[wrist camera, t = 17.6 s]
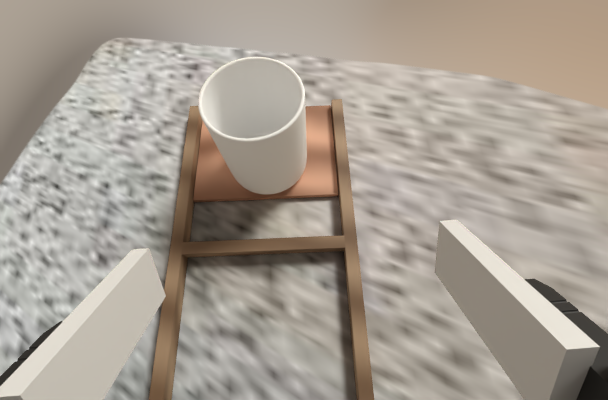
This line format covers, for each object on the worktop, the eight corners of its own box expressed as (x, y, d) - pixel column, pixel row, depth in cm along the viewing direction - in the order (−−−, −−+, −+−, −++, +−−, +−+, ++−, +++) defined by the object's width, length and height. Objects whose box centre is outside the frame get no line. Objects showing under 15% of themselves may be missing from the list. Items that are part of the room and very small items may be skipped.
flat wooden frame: (377, 459, 23) (381, 469, 22) (148, 467, 23) (137, 477, 22) (340, 108, 37) (341, 99, 35) (195, 114, 37) (190, 106, 35)
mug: (273, 101, 37) (258, 19, 27) (320, 175, 32) (324, 112, 22) (209, 129, 35) (169, 54, 25) (250, 210, 31) (222, 159, 21)
